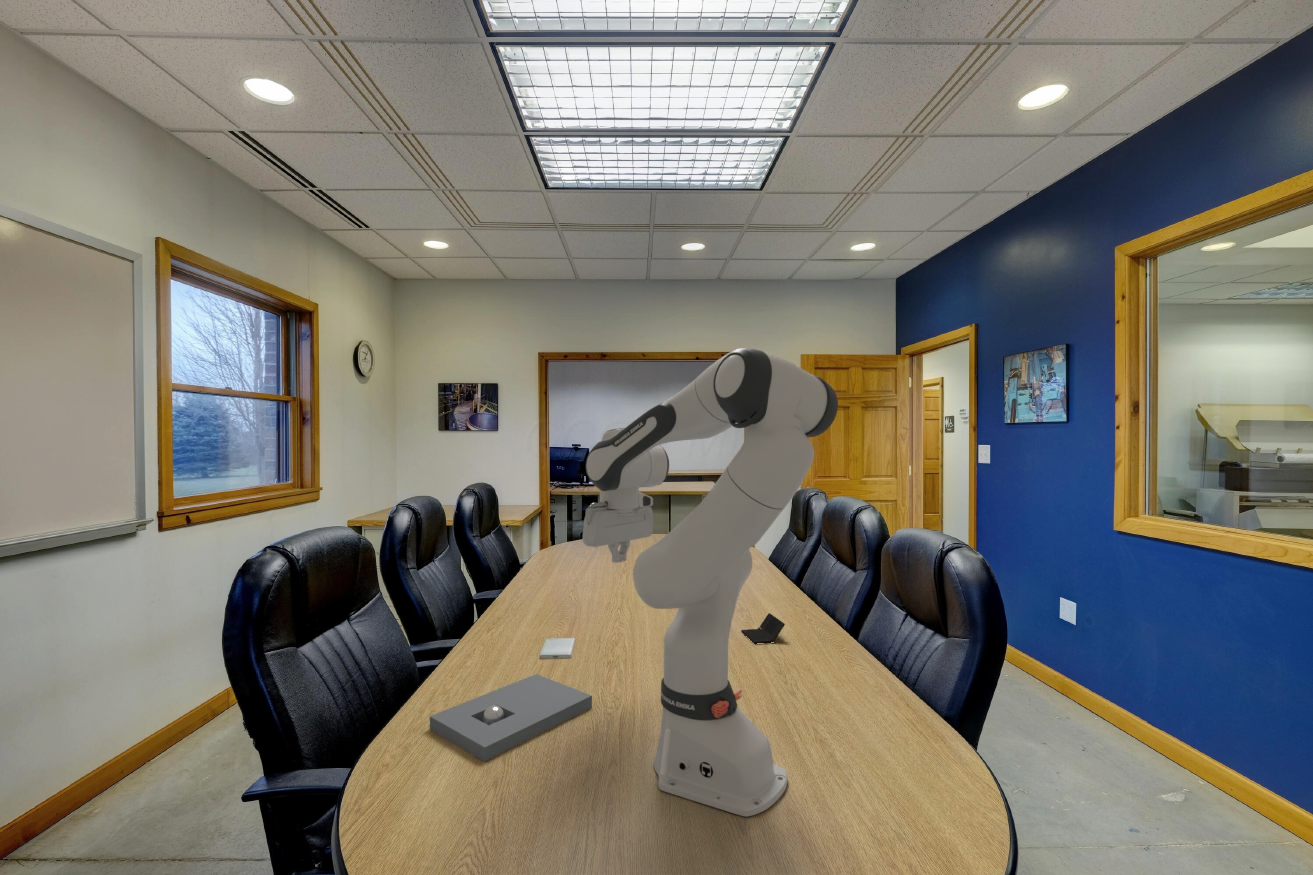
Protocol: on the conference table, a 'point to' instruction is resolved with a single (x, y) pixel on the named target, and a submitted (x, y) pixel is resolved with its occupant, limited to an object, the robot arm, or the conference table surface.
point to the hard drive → (557, 648)
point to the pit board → (510, 716)
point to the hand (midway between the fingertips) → (619, 561)
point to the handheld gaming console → (765, 630)
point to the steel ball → (493, 715)
